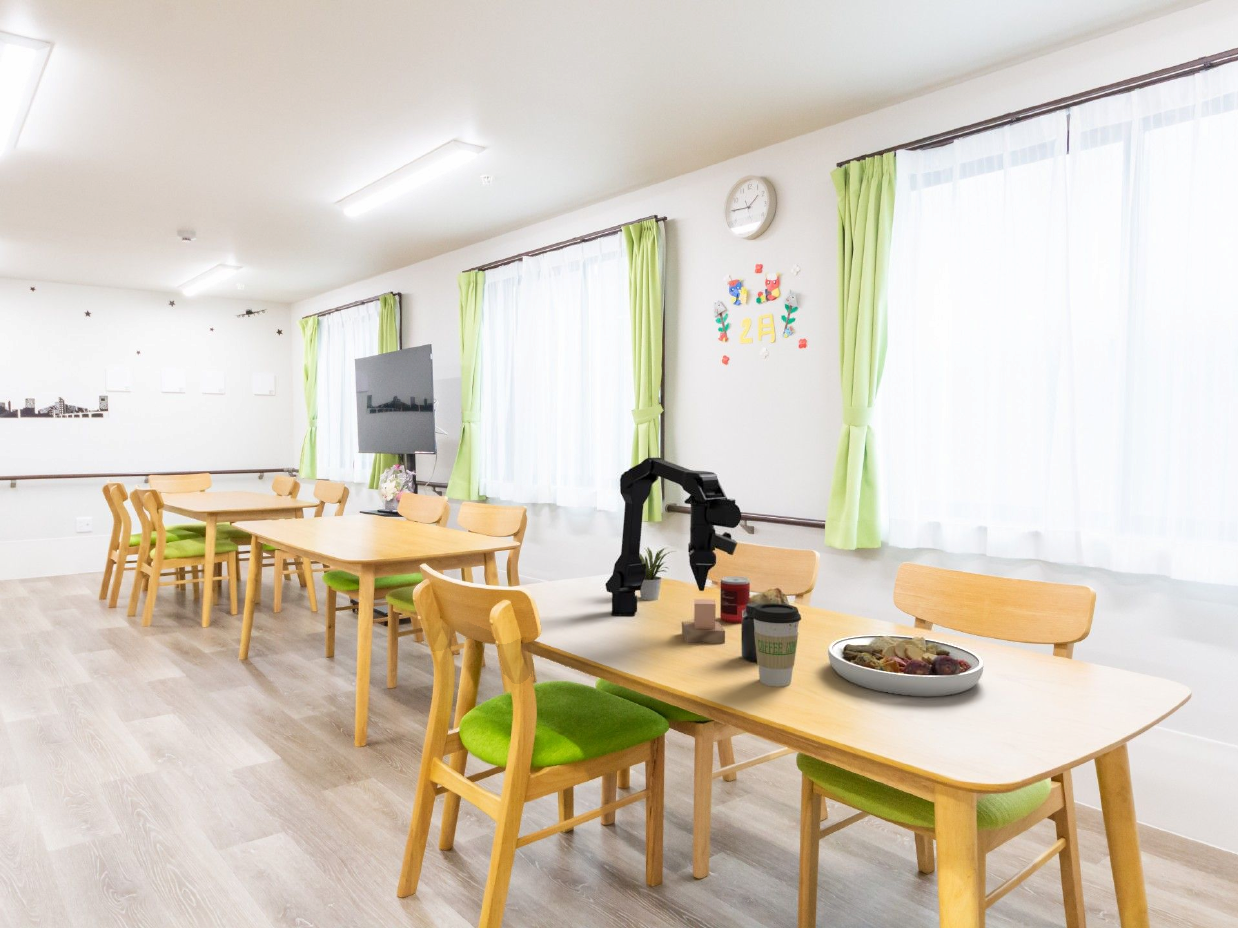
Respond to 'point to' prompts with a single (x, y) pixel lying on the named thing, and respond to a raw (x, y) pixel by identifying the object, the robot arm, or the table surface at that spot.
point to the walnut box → (702, 634)
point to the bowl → (905, 664)
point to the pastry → (770, 597)
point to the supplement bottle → (748, 634)
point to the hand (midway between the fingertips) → (700, 586)
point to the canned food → (734, 598)
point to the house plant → (652, 576)
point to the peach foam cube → (704, 613)
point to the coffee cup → (776, 642)
